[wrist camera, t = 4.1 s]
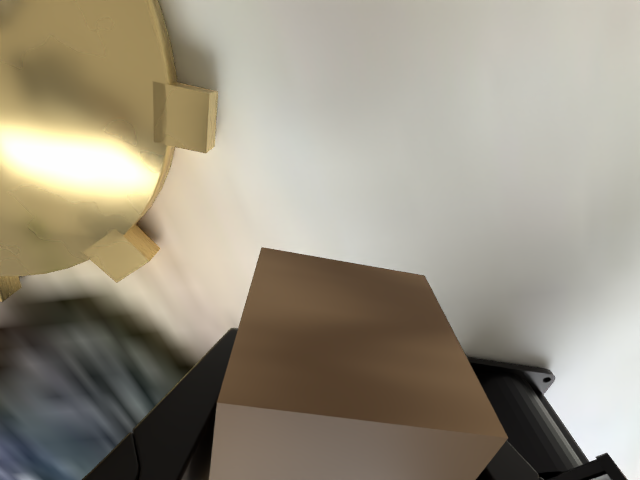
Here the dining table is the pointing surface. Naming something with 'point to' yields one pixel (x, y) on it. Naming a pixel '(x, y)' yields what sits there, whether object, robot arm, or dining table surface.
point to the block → (348, 380)
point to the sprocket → (88, 132)
